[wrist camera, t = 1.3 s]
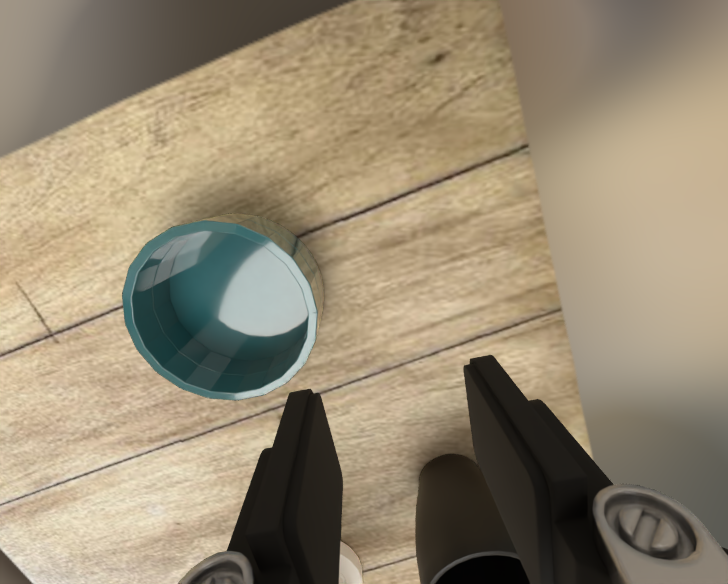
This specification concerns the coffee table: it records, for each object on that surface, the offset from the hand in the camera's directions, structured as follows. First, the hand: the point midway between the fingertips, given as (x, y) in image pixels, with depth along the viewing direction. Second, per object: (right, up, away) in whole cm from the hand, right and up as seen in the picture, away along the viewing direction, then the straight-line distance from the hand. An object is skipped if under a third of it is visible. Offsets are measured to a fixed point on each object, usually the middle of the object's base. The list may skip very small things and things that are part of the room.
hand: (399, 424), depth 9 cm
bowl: (-10, +3, +17) cm, 20 cm away
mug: (+9, -13, +23) cm, 27 cm away
